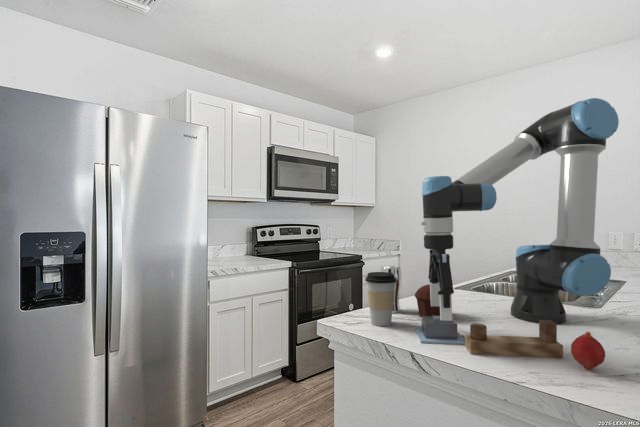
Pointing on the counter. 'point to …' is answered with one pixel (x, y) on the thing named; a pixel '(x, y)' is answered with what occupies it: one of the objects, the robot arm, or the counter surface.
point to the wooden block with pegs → (515, 342)
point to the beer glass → (397, 275)
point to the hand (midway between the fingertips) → (440, 312)
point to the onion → (587, 351)
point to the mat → (439, 341)
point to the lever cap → (438, 328)
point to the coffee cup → (381, 297)
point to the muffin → (426, 302)
